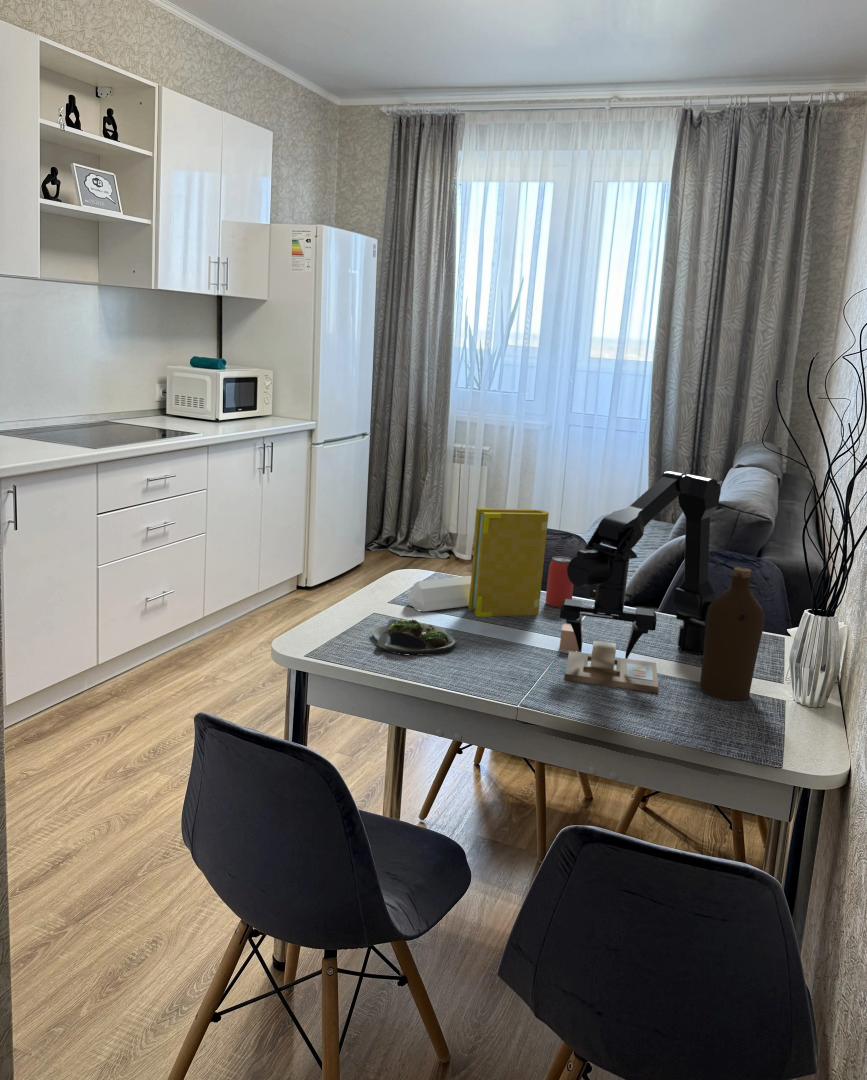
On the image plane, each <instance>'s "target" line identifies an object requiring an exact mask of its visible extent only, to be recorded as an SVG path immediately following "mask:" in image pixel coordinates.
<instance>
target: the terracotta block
mask: <svg viewBox="0 0 867 1080" xmlns="http://www.w3.org/2000/svg"><path fill="white" fill-rule="evenodd" d="M560 633H561V634H560V642H559V650H560V649H562V650H561V651H567V650H569V651H573V652H575V651H577V652H579V649H578V645H577V641H576V637H575V634H574V631H573V629H572V626H571V624H567V623H566V624H565V623H562V627H561V632H560ZM583 634H584V626H582V636H583ZM569 651H568V652H569Z"/></svg>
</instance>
